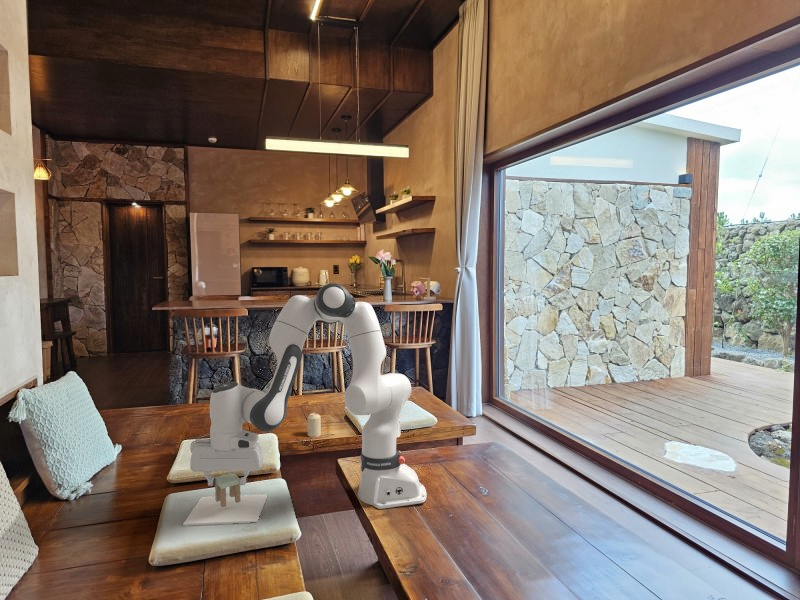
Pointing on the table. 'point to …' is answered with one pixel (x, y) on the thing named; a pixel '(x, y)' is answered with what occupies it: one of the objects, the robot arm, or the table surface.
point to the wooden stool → (224, 482)
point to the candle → (314, 425)
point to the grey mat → (226, 510)
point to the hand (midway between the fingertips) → (227, 484)
